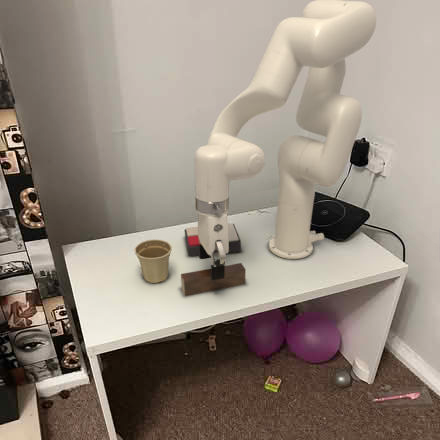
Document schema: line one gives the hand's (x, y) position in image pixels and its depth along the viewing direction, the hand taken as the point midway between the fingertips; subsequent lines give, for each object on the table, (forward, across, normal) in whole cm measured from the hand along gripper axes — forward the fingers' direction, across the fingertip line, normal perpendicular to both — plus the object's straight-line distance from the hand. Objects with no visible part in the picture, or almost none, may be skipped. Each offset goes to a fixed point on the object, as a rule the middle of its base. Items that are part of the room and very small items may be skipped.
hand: (211, 268), depth 108 cm
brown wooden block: (+6, 0, -1) cm, 6 cm away
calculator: (+6, +20, -7) cm, 22 cm away
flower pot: (+6, +9, +12) cm, 17 cm away
